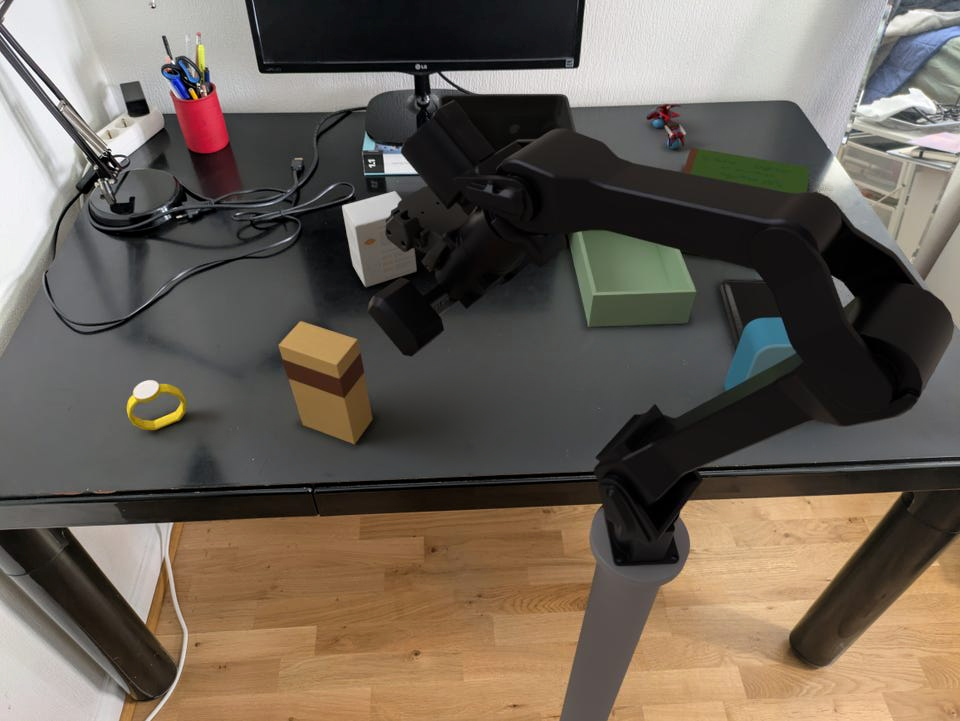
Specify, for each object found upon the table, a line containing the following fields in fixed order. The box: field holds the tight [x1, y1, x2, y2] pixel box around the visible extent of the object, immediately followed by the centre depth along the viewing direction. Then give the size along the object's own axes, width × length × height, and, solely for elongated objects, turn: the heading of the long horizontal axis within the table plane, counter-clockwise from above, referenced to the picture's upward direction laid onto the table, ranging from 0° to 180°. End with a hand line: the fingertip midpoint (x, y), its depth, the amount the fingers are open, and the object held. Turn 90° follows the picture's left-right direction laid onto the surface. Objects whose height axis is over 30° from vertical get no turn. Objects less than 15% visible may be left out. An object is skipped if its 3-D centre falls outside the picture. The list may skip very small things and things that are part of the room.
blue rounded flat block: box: [723, 318, 796, 392], centre depth 77 cm, size 12×4×12 cm, turn 91°
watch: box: [126, 379, 187, 431], centre depth 78 cm, size 6×3×6 cm, turn 118°
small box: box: [341, 190, 418, 288], centre depth 96 cm, size 8×6×10 cm
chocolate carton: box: [277, 320, 373, 445], centre depth 75 cm, size 7×4×13 cm, turn 66°
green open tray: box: [566, 230, 697, 328], centre depth 96 cm, size 21×13×6 cm, turn 3°
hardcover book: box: [680, 146, 810, 259], centre depth 106 cm, size 25×19×4 cm
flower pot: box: [438, 93, 577, 216], centre depth 101 cm, size 19×19×17 cm
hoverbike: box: [646, 103, 687, 150], centre depth 124 cm, size 5×12×6 cm, turn 9°
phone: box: [720, 278, 781, 349], centre depth 90 cm, size 8×1×15 cm
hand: (429, 312), depth 73 cm, fingers open, 9 cm apart
